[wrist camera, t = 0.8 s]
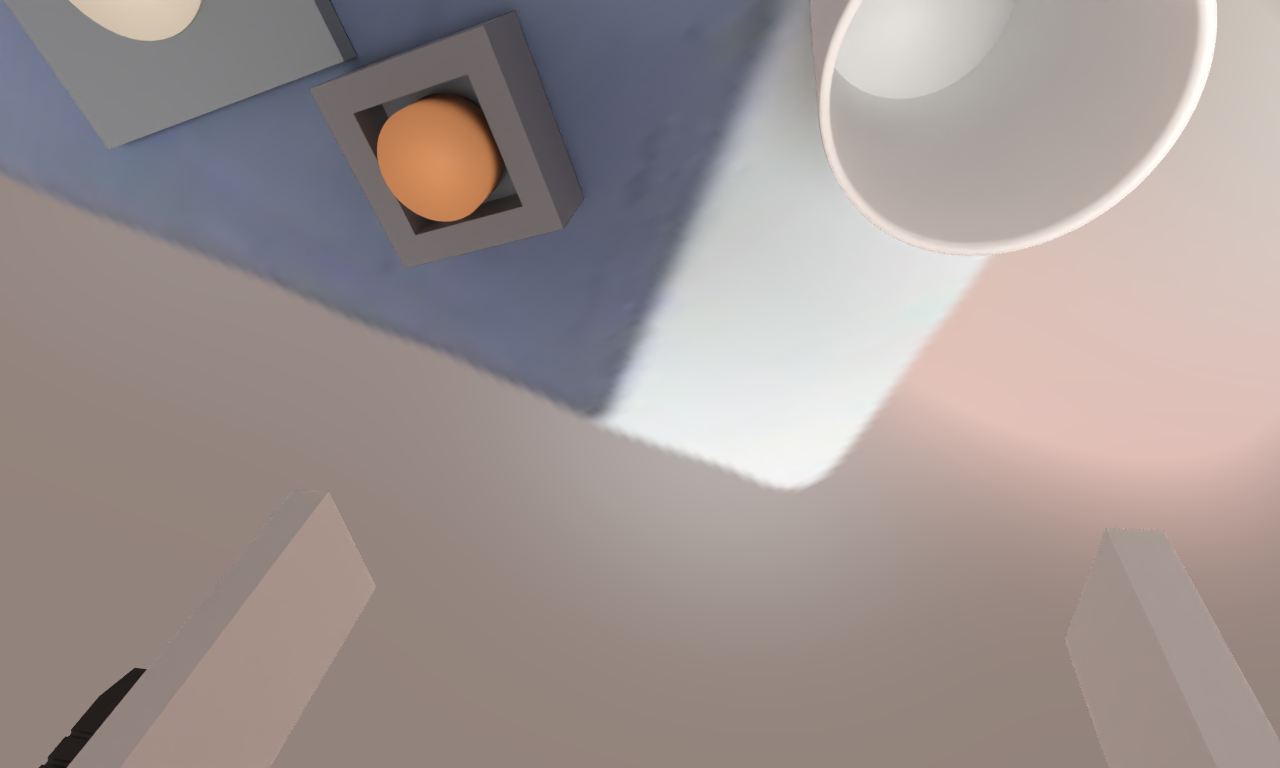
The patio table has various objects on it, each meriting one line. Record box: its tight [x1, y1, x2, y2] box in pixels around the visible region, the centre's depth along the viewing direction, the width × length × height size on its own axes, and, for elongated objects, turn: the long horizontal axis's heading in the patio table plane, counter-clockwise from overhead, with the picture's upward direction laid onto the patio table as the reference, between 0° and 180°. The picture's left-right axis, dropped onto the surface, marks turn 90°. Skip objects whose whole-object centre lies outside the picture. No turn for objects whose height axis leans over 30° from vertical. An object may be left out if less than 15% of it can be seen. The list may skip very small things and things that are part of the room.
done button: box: [377, 93, 505, 222], centre depth 33 cm, size 5×5×2 cm
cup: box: [810, 0, 1217, 256], centre depth 23 cm, size 8×8×16 cm
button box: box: [309, 11, 584, 269], centre depth 34 cm, size 9×9×4 cm
